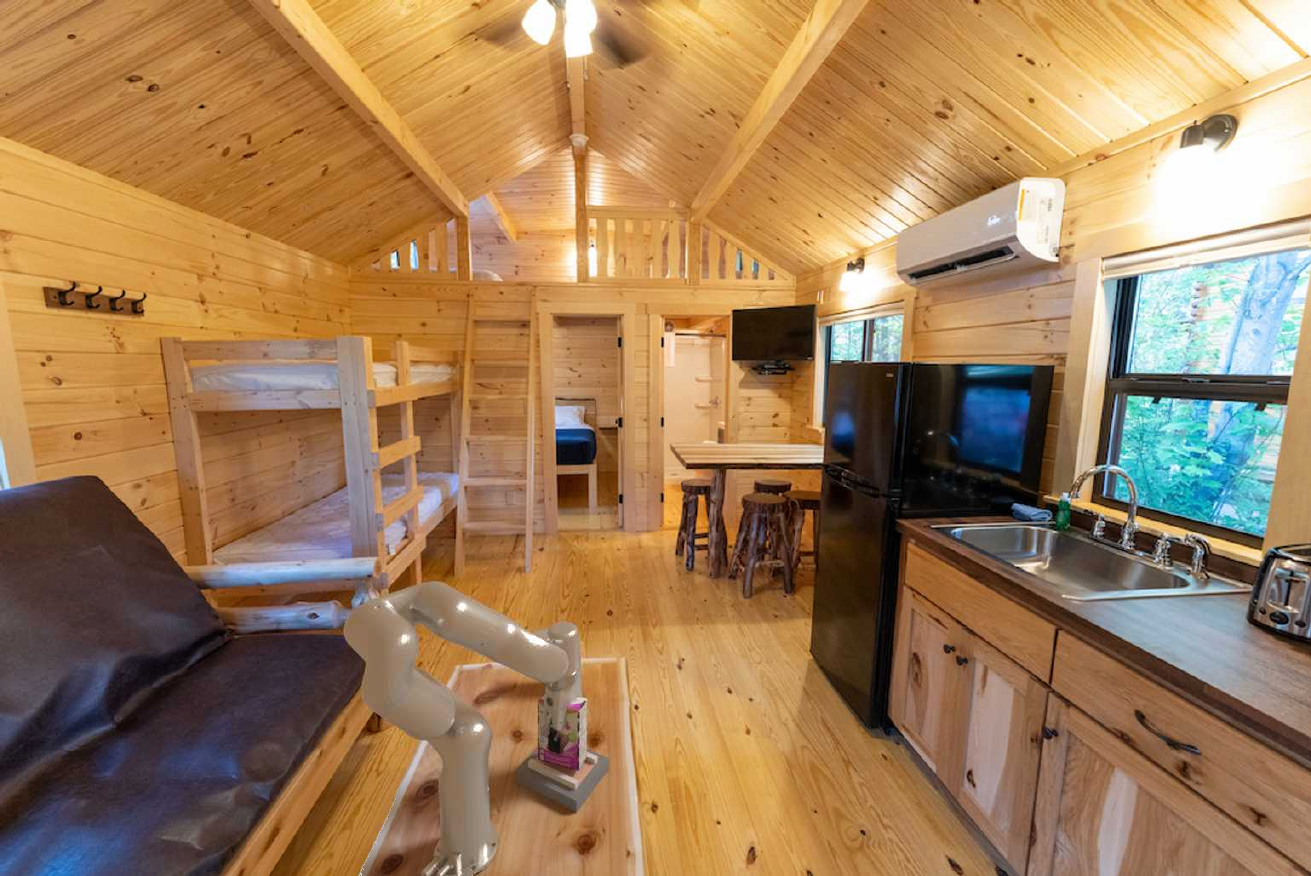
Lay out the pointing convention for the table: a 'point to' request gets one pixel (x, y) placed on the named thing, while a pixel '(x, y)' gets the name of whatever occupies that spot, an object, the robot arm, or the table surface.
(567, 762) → the candy bar box
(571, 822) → the table surface
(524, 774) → the display plinth
